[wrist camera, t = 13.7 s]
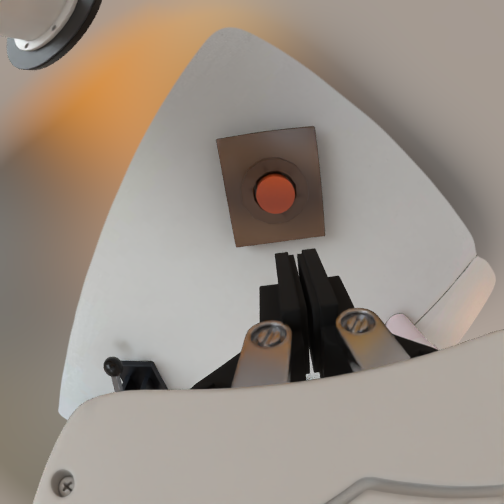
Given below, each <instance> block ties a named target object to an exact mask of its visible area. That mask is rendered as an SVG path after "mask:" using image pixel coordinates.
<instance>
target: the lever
mask: <svg viewBox="0 0 504 504" xmlns="http://www.w3.org/2000/svg"><path fill="white" fill-rule="evenodd" d="M104 370H105V372H106V373H107V374H108V375H109V376H111V377H112V381H113V385H114V389H115V392H121V391H123V387H122V383H121V379H120V375H121V373H122V372H123V364H122V362H121V361H120V360H119V359H118V358H116V357H109V358H107V359H106V360H105V362H104Z"/></svg>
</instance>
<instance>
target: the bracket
mask: <svg viewBox="0 0 504 504" xmlns="http://www.w3.org/2000/svg"><path fill="white" fill-rule="evenodd" d="M121 362H122V364H123V372H122V373H121V375H120V378H121V379H122V381H123V384H122V387H123V391H128V390H168V389H167V387H166V385H165V383H164V381H163V380H162V378H161V376H160V374H159V372H158V370H157V368H156V367H155V365H154V363H153V362H149V361H121Z"/></svg>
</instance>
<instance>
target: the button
mask: <svg viewBox="0 0 504 504" xmlns="http://www.w3.org/2000/svg"><path fill="white" fill-rule="evenodd" d="M256 198H257V202H258V204H259V205H260V207H261V208H262V209H263V210H265V211H266V212H268V213H272V214H279V213H283V212H285V211H287V210H288V209H289V208H290V207H291V206H292V204H293V202H294V199H295V191H294V188H293V186H292V184H291V182H290V181H289V180H288V179H287V178H286V177H285V176H283V175H280V174H269V175H267V176H265V177H263V178H262V179H261V180H260V182H259V183H258V185H257V190H256Z"/></svg>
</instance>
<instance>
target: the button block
mask: <svg viewBox="0 0 504 504" xmlns="http://www.w3.org/2000/svg"><path fill="white" fill-rule="evenodd" d="M216 141H217V147H218V153H219V158H220V164H221V169H222V175H223V180H224V186H225V191H226V196H227V202H228V207H229V213H230V218H231V223H232V229H233V234H234V239H235V244H236V247H243V246H251V245H258V244H266V243H273V242H281V241H288V240H296V239H303V238H311V237H319V236H325V225H324V211H323V199H322V187H321V177H320V167H319V158H318V149H317V141H316V133H315V127H314V126H310V127H299V128H289V129H280V130H272V131H264V132H257V133H250V134H244V135H238V136H232V137H226V138H220V139H217V140H216ZM269 174H280V175H283V176H285V177H286V178H287V179H288V180H289V181H290V182H291V184H292V186H293V188H294V191H295V199H294V202H293V204H292V206H291V207H290V208H289V209H288V210H287V211H285V212H283V213H279V214H272V213H268V212H266V211H265V210H263V209H262V208H261V207H260V205H259V204H258V202H257V198H256V190H257V185H258V183H259V182H260V180H261V179H262V178H263V177H265V176H267V175H269Z"/></svg>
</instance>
